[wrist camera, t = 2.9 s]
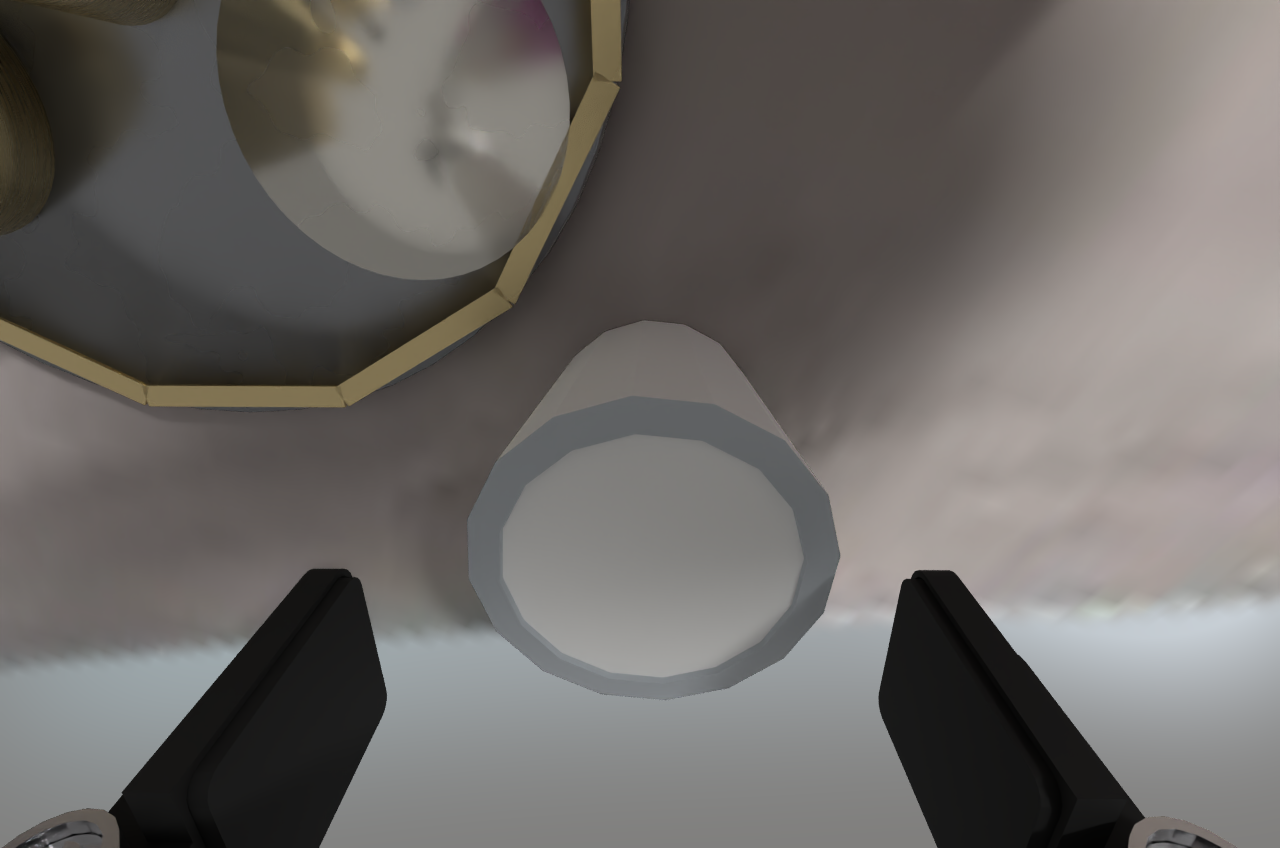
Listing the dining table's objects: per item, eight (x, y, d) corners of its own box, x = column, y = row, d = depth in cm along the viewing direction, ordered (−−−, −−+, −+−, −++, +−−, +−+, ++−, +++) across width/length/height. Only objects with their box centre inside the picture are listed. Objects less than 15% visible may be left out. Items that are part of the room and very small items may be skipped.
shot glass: (566, 263, 15) (503, 344, 9) (812, 340, 16) (912, 464, 10) (512, 481, 18) (435, 660, 12) (723, 539, 19) (757, 736, 13)
